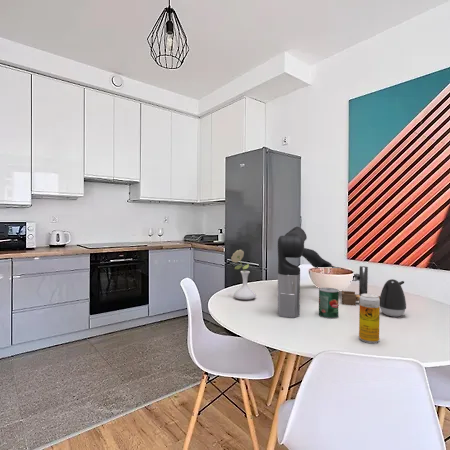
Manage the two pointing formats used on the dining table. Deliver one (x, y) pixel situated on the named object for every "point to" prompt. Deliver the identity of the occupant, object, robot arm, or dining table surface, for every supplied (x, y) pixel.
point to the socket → (348, 298)
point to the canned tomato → (328, 303)
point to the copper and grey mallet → (363, 282)
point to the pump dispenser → (393, 298)
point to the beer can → (369, 318)
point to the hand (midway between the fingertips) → (357, 280)
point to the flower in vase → (244, 291)
